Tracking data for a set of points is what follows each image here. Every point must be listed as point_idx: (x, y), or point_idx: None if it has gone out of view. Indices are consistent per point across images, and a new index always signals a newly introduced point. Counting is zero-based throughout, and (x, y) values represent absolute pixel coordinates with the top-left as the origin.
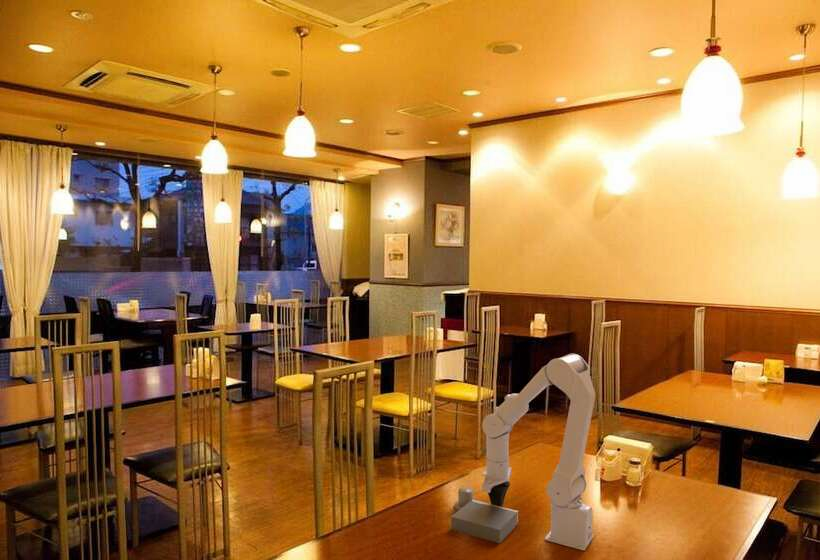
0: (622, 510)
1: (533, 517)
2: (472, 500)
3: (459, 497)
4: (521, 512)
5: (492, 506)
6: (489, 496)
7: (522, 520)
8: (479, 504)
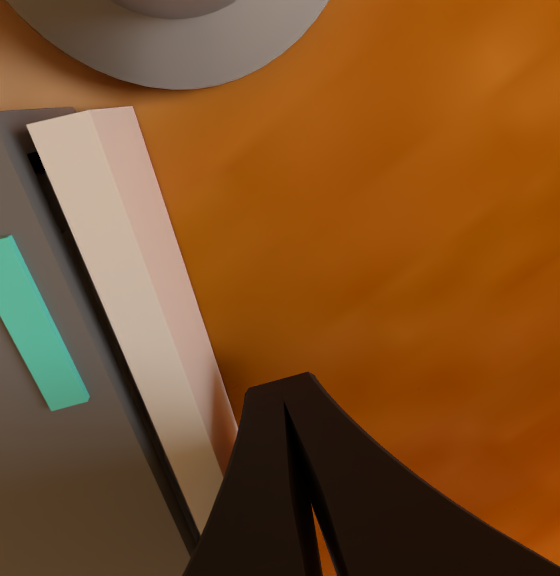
0: None
1: None
2: (49, 120)
3: None
4: (492, 462)
5: (158, 521)
6: (193, 563)
7: None
8: (23, 362)
